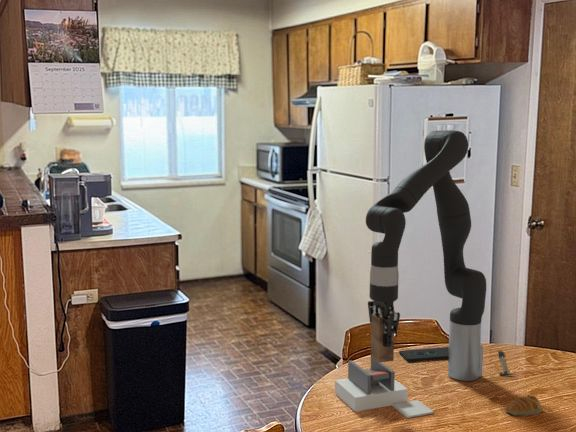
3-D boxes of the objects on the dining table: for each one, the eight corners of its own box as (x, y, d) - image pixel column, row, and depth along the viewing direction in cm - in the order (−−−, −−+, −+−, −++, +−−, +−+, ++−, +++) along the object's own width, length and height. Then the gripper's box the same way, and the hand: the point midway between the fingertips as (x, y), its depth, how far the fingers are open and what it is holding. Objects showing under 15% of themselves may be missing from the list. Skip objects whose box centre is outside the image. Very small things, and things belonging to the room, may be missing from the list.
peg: (385, 355, 189) (386, 312, 187) (393, 360, 184) (394, 317, 183) (370, 357, 187) (371, 314, 185) (378, 362, 183) (379, 319, 181)
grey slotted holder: (384, 385, 203) (385, 354, 201) (407, 402, 191) (408, 370, 189) (334, 393, 197) (335, 361, 196) (355, 411, 185) (355, 378, 184)
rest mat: (417, 401, 191) (417, 400, 191) (433, 413, 184) (433, 411, 184) (392, 406, 188) (392, 404, 188) (407, 418, 181) (407, 416, 181)
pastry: (516, 420, 180) (517, 406, 180) (498, 410, 186) (499, 396, 186) (544, 413, 184) (544, 400, 184) (526, 404, 190) (526, 391, 190)
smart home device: (398, 350, 229) (454, 345, 233) (398, 355, 229) (454, 350, 233) (407, 358, 221) (465, 354, 225) (407, 364, 221) (465, 359, 225)
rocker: (369, 373, 199) (368, 368, 199) (389, 377, 188) (388, 372, 188) (353, 376, 198) (353, 371, 198) (372, 380, 186) (372, 375, 186)
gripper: (410, 286, 177) (408, 350, 180) (383, 274, 191) (382, 334, 193) (384, 289, 175) (382, 354, 177) (359, 276, 188) (358, 337, 191)
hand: (382, 343), depth 185 cm, fingers closed on peg, 4 cm apart
